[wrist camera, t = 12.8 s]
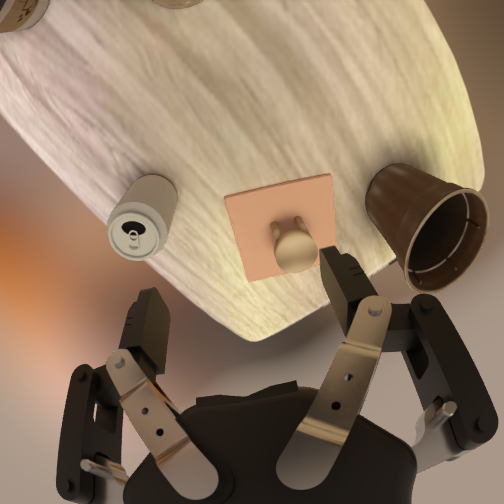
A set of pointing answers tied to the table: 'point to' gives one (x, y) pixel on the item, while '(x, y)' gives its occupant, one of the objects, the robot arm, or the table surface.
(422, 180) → the plant pot
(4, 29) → the coffee cup
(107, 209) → the table surface
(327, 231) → the mat
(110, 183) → the table surface
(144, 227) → the can
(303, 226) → the stool
